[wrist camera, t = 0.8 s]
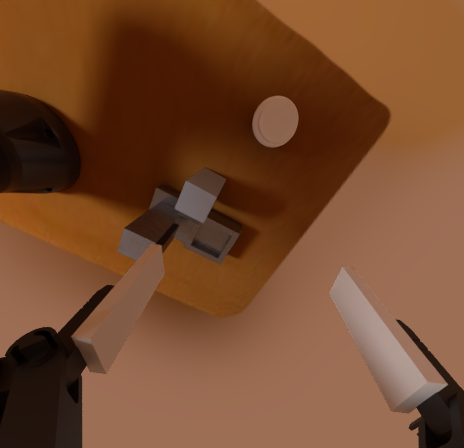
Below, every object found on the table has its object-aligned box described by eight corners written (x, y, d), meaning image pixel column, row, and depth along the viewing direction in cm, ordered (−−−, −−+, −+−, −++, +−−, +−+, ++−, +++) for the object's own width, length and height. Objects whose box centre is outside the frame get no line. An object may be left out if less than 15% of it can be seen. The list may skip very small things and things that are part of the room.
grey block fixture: (151, 217, 34) (103, 256, 23) (162, 183, 31) (114, 209, 20) (223, 253, 37) (212, 304, 25) (241, 225, 33) (238, 269, 22)
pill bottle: (257, 99, 25) (262, 81, 17) (293, 109, 25) (315, 96, 17) (247, 140, 27) (246, 141, 19) (280, 149, 27) (293, 154, 19)
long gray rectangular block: (214, 202, 32) (200, 228, 23) (194, 192, 31) (172, 213, 22) (226, 179, 30) (216, 197, 21) (205, 167, 29) (186, 180, 20)
